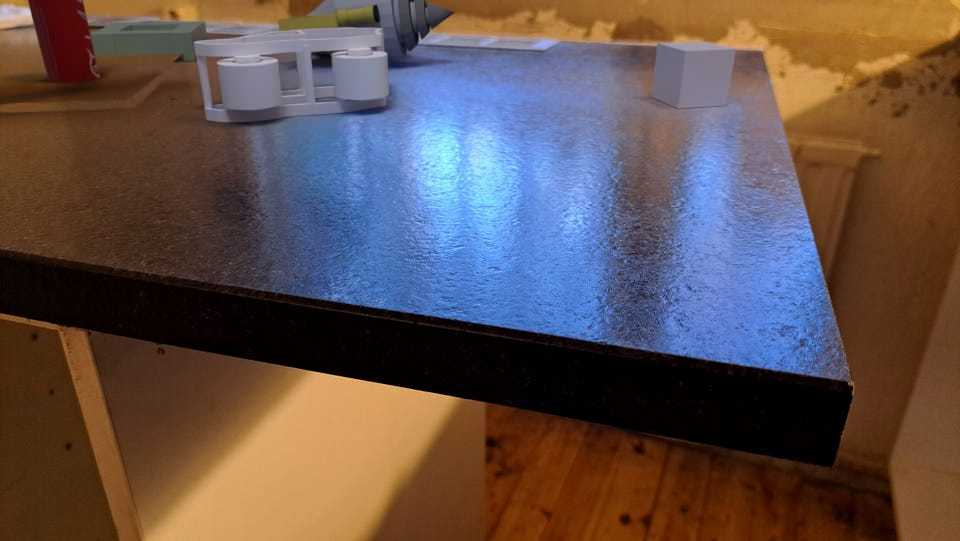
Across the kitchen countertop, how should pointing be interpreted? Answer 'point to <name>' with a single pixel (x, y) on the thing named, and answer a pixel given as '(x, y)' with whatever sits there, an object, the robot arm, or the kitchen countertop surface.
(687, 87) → the gray cube
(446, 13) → the ray gun
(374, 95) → the wheeled car silhouette
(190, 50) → the holder
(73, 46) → the soda can
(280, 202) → the kitchen countertop surface
